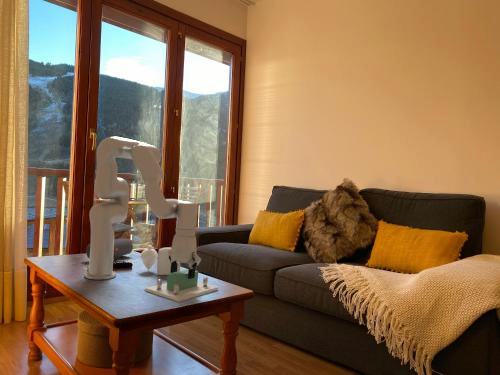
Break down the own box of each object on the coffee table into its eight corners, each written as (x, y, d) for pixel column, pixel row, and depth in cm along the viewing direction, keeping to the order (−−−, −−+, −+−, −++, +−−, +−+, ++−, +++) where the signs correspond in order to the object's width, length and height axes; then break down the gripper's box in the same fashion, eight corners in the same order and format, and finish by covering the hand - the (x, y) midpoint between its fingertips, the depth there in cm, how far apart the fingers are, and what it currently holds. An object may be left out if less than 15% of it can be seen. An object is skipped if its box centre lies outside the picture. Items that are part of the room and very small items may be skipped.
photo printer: (156, 275, 179) (158, 248, 178) (156, 273, 183) (158, 246, 182) (179, 276, 180) (181, 248, 180) (179, 273, 185) (181, 247, 184)
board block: (166, 289, 155) (167, 273, 155) (188, 283, 165) (189, 269, 164) (175, 291, 152) (176, 276, 152) (197, 286, 162) (198, 271, 162)
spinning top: (137, 270, 186) (139, 244, 186) (153, 269, 190) (155, 243, 190) (142, 273, 180) (144, 247, 179) (159, 272, 184) (160, 246, 183)
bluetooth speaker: (97, 264, 193) (98, 243, 193) (84, 261, 198) (85, 240, 197) (133, 257, 212) (134, 238, 212) (120, 254, 217) (121, 236, 217)
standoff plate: (145, 290, 154) (146, 278, 154) (185, 281, 172) (186, 270, 172) (178, 301, 144) (179, 288, 144) (217, 290, 162) (218, 278, 162)
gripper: (163, 230, 160) (160, 272, 160) (195, 237, 150) (191, 282, 150) (177, 229, 166) (173, 269, 166) (208, 235, 156) (204, 279, 156)
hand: (182, 275), depth 158 cm, fingers open, 9 cm apart
